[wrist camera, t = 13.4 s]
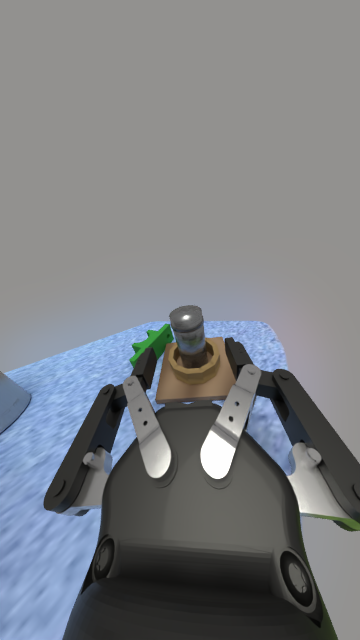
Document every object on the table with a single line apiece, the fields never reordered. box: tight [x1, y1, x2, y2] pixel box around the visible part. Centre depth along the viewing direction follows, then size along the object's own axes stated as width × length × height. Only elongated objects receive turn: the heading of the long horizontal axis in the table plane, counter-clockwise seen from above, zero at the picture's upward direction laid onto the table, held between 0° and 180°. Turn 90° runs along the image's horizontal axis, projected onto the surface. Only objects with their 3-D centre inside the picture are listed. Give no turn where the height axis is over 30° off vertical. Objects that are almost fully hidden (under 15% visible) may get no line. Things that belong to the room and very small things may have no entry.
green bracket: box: [130, 324, 174, 368], centre depth 27 cm, size 11×4×5 cm, turn 152°
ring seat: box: [155, 337, 236, 404], centre depth 22 cm, size 12×12×4 cm
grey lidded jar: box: [169, 305, 208, 369], centre depth 20 cm, size 5×5×10 cm
